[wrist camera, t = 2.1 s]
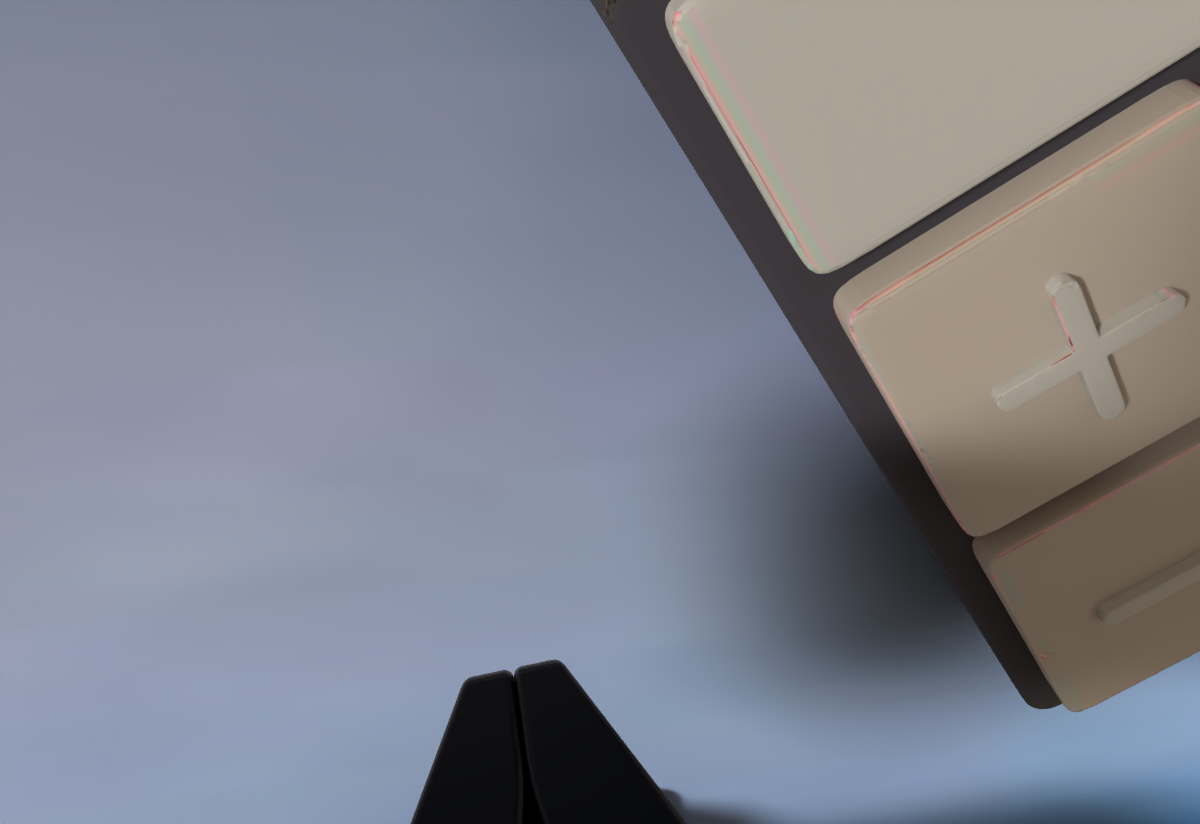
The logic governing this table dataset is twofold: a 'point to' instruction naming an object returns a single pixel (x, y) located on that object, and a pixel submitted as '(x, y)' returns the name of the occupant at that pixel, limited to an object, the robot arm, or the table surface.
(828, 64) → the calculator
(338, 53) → the table surface
